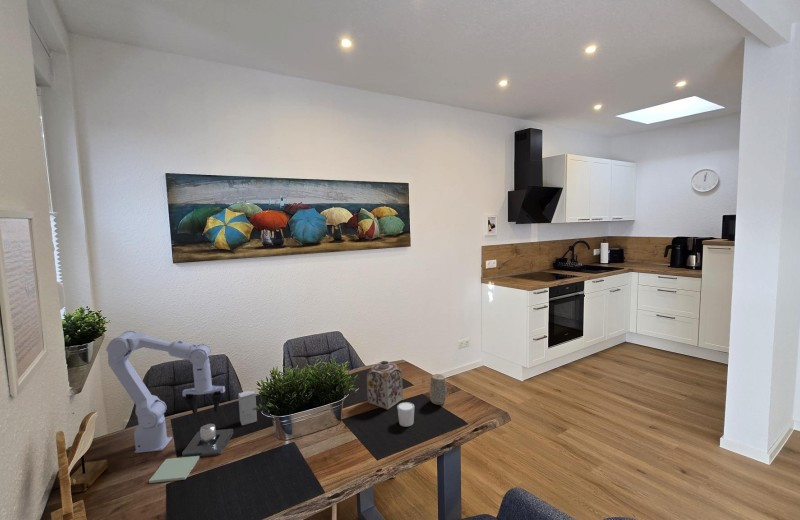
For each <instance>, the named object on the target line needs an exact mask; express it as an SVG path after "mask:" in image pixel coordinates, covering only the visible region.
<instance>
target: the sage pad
mask: <svg viewBox="0 0 800 520" xmlns="http://www.w3.org/2000/svg"><path fill="white" fill-rule="evenodd" d="M200 457H201V456H192V457H183V456H181V457H175V458H174V457H173V458H165V460H164V461H163V463H162V464H161V465H160V466H159V468H157V470H156V471H155V472H154V474H152V476H151V478H149V480H148V484H152V483H153V484H154V483H164V482H173V481H174V482H175V481H182V480H186V479H187V477H189V474H190V473H191V471H192V470H194V469H193V468H194V467H195V465H197V462H199V460H200Z"/></svg>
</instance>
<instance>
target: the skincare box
mask: <svg viewBox="0 0 800 520" xmlns="http://www.w3.org/2000/svg"><path fill="white" fill-rule="evenodd" d="M237 395H238V409H239V422H240V424H241V426H245V425H249V424H252V423H255V422H258V418H257V417H258V416H257V400H256V392H255V390H254V389H251V390H246V391H243V392H239V393H238V394H237Z"/></svg>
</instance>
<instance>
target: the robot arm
mask: <svg viewBox="0 0 800 520" xmlns="http://www.w3.org/2000/svg"><path fill="white" fill-rule="evenodd" d="M142 348H146V349H151V350H158V351H161V352H167V353H168V355H169V356H170V357H174V358H179V359H183V360H187V361H189V362H190V363H191V364H192V373H193V382H194V387H191V388H186V389H183V391H181V392H182V397H185V398H184V401H185V403H186V404H187V405H188V407H190V409H191V411H192V414H193V415H196V414H197V413H198V403H197V398H198V395H207V394H209V395H210V394H212V396H211V399H212V403H213V411H214V413H217V412H218V411H219V409H220V408H219V405H220V402H221V398H222V395H223V394H224V393H225V392H226V387H225V385H213V384H212V383H213V382H212V381H213V380H212V372H211V363H210V357H209V356H210V355H211V348H210V346H209V345H207V344H204V343H200V344H197V343H194V344H193V343H189V342H186V341H185V340H184V339H180V340H175V341H172V342H171V341H167V340H165V339H160V338H157V337H155V336H151V335H147V334H144V332H141V331H135V330H126V331H124V332H123V333H122V334H119V335H118V336H116V337H115V338H113V339H111V340H110V341H109V343H108V344H107V346H106V349H105V351H106V353H107V361H108V362H107V364H108V366H109V367H110V369H111V371H112V372H113V373H114V375H115V377H117V379H118V381H119V383H120V384H121V385H122V387H123V388H124V389H125V392H127V395H129V397H130V399H131V400H132V401H133V403H134V404H135V415H136V417H137V423H138V425H136V427H135V428H134V432H133V436H134V437H133V439H134V445H135V446H134V447H135V450H134V454H138V453H146V452H147V453H149V452H159V451H163V450H164V449H165V447H166V446H168V444H169V443H170V442H171V441H172V439H173V436H168V435H167V424H166V418H165V413H166V411H167V404H166V403H165V401H163V400H161V399H160V398H159V397H158V396H157V395H154V394H152V393H151V392H150V390H149V389H148V387H147V386H146V384H145V382H144V381H143V380H142V379H141V377H140V375H139V374H138V373H137V371H136V369H135V368H134V366H133V365H132V363H131V361H130V357H131V355H132V353H133V352H134V351H135V350H139V349H140V350H141V349H142Z"/></svg>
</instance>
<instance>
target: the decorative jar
mask: <svg viewBox="0 0 800 520" xmlns="http://www.w3.org/2000/svg"><path fill="white" fill-rule="evenodd" d="M402 373H403V371H402V369H401V368H400V367H399V366H397V364H396V363H391V362H390V361H388V360H381V361H379V362H378V363H376V364H374V365H372V366H371V367H370V369H369V370H368V372H367V374H366V389H367V390H366V391H367V392H366V393H367V403H368V404H370V405H372V406H376V407H379V408H382V409H385V410H390V409H391V408H393V407H394V406H395V405H398V404H399V402H401V401H402V400H403V399H404V392H403V391H404V390H403V389H404V387H403V374H402Z"/></svg>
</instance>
